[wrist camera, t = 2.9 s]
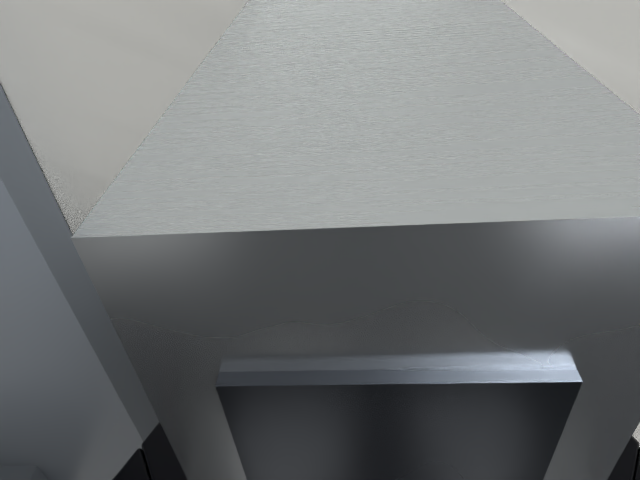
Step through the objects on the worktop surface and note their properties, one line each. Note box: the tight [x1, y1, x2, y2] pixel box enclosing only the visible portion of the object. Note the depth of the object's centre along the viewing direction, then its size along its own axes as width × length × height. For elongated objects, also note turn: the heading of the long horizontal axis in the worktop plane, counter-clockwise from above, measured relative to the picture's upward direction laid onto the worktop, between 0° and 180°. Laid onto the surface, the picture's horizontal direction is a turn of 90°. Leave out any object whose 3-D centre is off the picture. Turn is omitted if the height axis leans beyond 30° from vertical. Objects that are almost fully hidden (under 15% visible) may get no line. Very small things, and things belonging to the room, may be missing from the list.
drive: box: [71, 0, 640, 480], centre depth 7 cm, size 10×3×6 cm, turn 4°
